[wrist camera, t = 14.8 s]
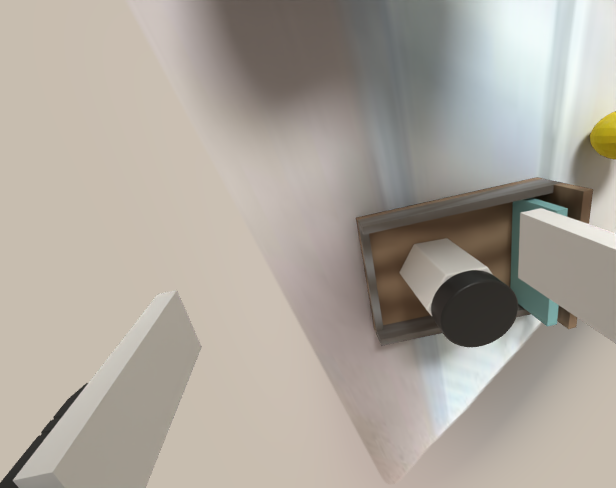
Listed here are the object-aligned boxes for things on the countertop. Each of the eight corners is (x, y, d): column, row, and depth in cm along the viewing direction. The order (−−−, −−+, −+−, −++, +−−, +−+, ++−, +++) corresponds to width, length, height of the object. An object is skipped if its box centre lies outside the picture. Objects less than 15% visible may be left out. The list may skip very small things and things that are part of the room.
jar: (400, 297, 45) (437, 355, 33) (396, 245, 42) (436, 289, 30) (462, 286, 44) (520, 340, 33) (463, 233, 42) (526, 273, 30)
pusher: (512, 196, 40) (564, 213, 32) (528, 193, 40) (583, 209, 32) (510, 297, 45) (553, 331, 38) (523, 294, 45) (570, 327, 38)
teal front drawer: (355, 217, 41) (370, 238, 34) (537, 177, 40) (592, 189, 33) (374, 328, 47) (389, 366, 40) (530, 295, 47) (576, 327, 39)
